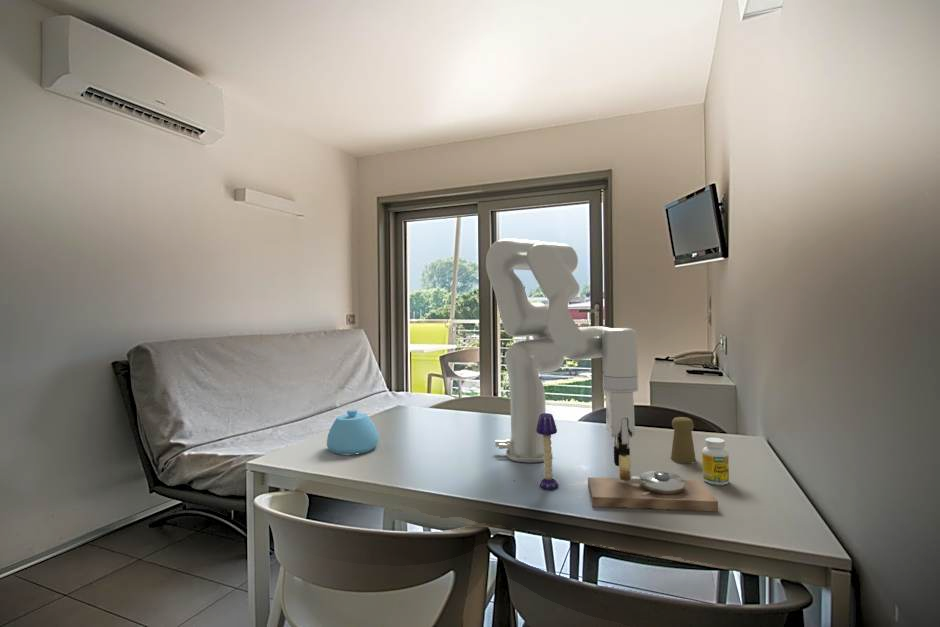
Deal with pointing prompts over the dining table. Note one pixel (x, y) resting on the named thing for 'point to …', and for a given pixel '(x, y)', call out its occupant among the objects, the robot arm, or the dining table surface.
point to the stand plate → (649, 496)
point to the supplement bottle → (715, 462)
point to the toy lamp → (547, 449)
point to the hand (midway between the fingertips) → (622, 464)
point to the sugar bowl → (352, 434)
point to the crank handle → (651, 478)
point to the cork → (683, 440)
